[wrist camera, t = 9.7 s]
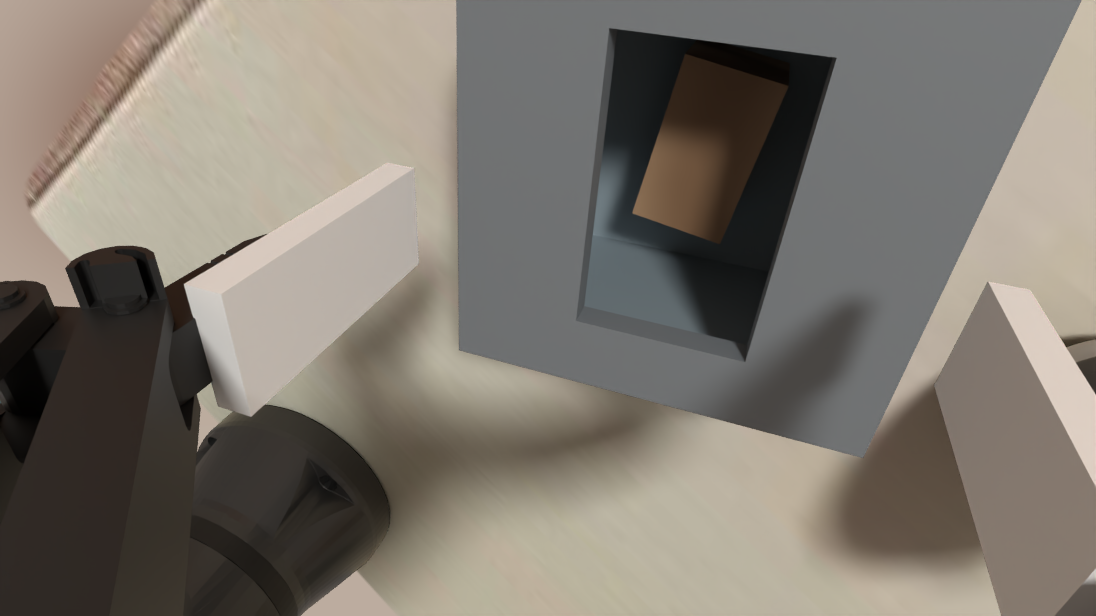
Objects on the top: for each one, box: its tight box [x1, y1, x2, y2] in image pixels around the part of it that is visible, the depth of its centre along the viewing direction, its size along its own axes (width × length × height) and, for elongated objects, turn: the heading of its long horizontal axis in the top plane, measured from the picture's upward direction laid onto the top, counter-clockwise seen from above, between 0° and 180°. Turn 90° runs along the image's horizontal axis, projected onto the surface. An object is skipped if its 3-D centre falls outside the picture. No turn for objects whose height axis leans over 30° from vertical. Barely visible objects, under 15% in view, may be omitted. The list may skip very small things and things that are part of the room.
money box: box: [456, 0, 1081, 458], centre depth 22 cm, size 14×14×10 cm
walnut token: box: [632, 40, 790, 244], centre depth 24 cm, size 4×6×4 cm, turn 167°
